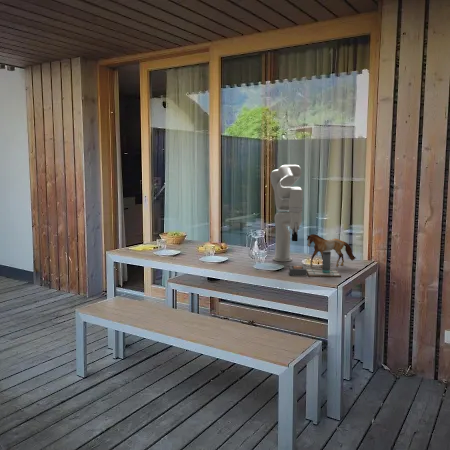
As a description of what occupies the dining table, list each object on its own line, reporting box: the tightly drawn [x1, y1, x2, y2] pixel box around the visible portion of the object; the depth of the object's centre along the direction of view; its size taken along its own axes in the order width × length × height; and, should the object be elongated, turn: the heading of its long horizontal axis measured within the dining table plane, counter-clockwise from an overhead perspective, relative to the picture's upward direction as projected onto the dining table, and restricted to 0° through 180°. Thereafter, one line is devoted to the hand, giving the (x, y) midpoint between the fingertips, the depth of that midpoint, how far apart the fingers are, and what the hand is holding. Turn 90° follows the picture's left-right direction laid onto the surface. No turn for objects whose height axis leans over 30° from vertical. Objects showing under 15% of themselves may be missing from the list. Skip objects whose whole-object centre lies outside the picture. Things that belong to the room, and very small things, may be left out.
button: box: [292, 265, 303, 269], centre depth 268 cm, size 5×5×2 cm
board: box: [306, 268, 342, 278], centre depth 268 cm, size 15×18×1 cm
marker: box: [321, 250, 332, 273], centre depth 267 cm, size 5×5×12 cm
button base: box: [288, 265, 308, 276], centre depth 268 cm, size 9×9×4 cm
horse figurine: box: [306, 233, 357, 268], centre depth 286 cm, size 31×8×21 cm, turn 96°
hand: (294, 240), depth 273 cm, fingers closed
